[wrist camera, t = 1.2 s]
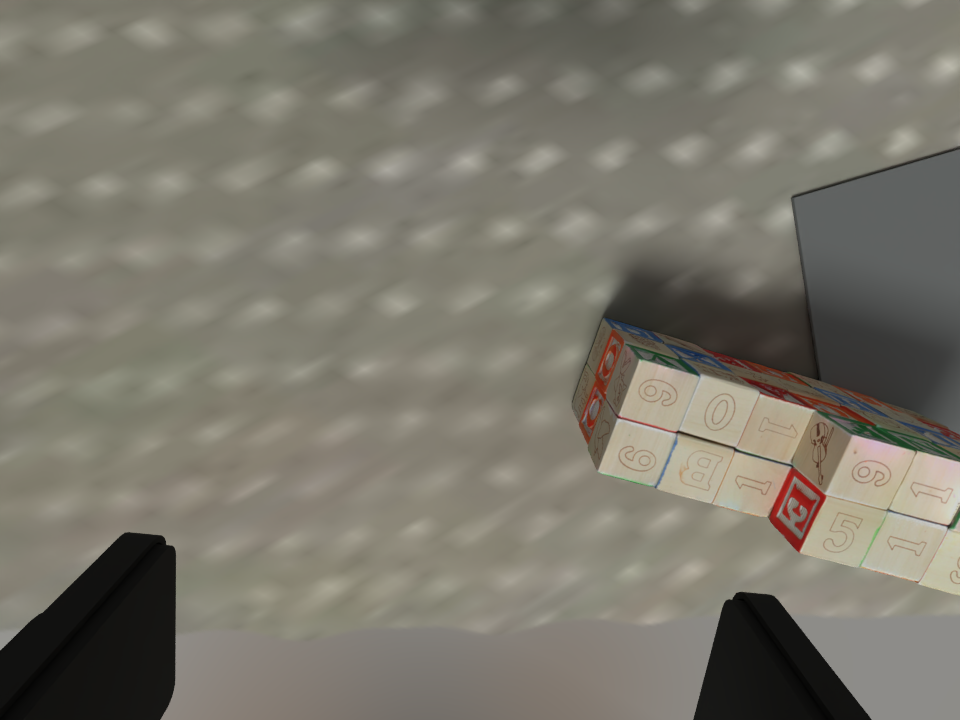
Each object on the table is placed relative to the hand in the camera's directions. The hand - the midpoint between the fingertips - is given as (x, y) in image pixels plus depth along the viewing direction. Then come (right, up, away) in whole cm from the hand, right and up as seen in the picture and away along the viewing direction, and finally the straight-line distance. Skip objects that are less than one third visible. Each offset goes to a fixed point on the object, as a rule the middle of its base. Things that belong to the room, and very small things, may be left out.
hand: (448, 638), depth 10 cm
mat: (+29, +5, +28) cm, 41 cm away
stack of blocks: (+17, +2, +29) cm, 34 cm away
